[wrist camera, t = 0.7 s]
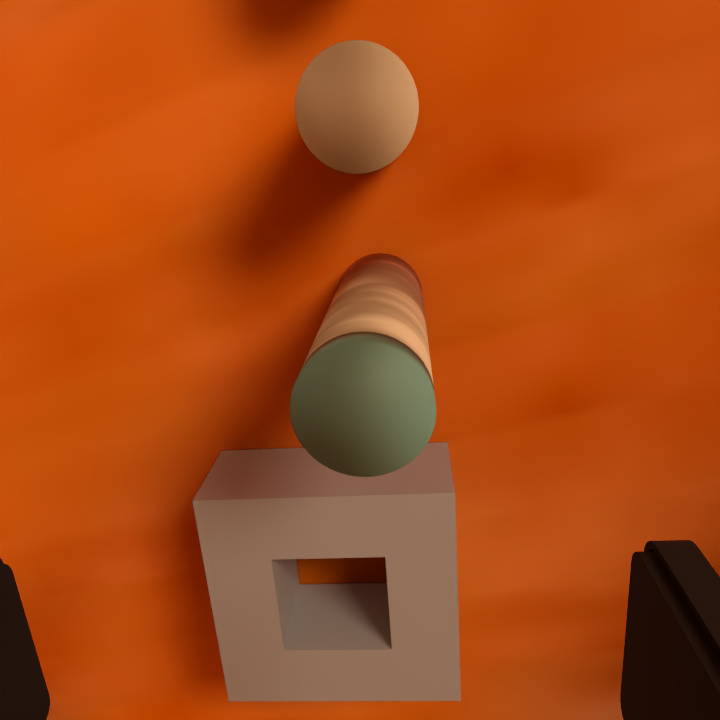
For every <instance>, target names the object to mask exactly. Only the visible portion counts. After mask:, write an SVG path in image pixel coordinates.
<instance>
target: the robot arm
mask: <svg viewBox="0 0 720 720" xmlns="http://www.w3.org/2000/svg"><path fill="white" fill-rule="evenodd" d="M49 707H50V698H49V693H48V690H47V686H46V683H45V679H44V676H43V673H42V669H41V666H40V663H39V659H38V656H37V653H36V649H35V646H34V642H33V639H32V636H31V632H30V629H29V626H28V622H27V619H26V615H25V612H24V609H23V605H22V602H21V599H20V595H19V592H18V588H17V585H16V582H15V578H14V575H13V572H12V570H11V568H10V567H9V566H8V565H7V564H3V561H2V559H0V720H46V719H47V716H48V712H49ZM621 710H622V715H623V719H624V720H720V577H719V576H718V574H717V573H716V572H715V570H714V569H713V567H712V566H711V565H710V563H709V562H708V561H707V559H706V558H705V556H704V555H703V554H702V552H701V551H700V550H699V548H698V547H697V546H696V545H695V544H694V543H693V542H692V541H689V540H675V541H649V542H647V543H646V545H645V548H644V552H635V553H634V554H633V556H632V561H631V573H630V585H629V597H628V610H627V622H626V634H625V646H624V659H623V671H622V683H621Z"/></svg>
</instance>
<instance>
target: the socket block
mask: <svg viewBox="0 0 720 720" xmlns="http://www.w3.org/2000/svg"><path fill="white" fill-rule="evenodd" d="M192 502H193V508H194V513H195V519H196V524H197V530H198V535H199V541H200V546H201V551H202V557H203V562H204V568H205V573H206V579H207V584H208V590H209V595H210V601H211V606H212V612H213V617H214V623H215V628H216V634H217V639H218V645H219V650H220V656H221V661H222V667H223V672H224V678H225V683H226V689H227V694H228V700H229V701H461V689H460V653H459V617H458V581H457V545H456V510H455V489H454V483H453V476H452V469H451V462H450V456H449V449H448V442H442V443H427V445H426V446H425V448H424V449H423V450H422V452H421V453H420V454H419V455H418V456H417V457H416V458H415V459H414V460H412V461H411V462H410V463H409V464H407V465H405V466H404V467H402V468H400V469H398V470H396V471H394V472H391V473H388V474H385V475H380V476H373V477H356V476H349V475H345V474H342V473H339V472H336V471H334V470H331V469H329V468H327V467H326V466H324V465H322V464H321V463H319V462H318V461H317V460H315V459H314V458H313V457H312V456H311V455H310V454H309V453H308V452H307V451H306V450H305V449H304V448H279V449H252V450H225V451H221V453H220V454H219V456H218V458H217V460H216V461H215V463H214V465H213V466H212V468H211V470H210V471H209V473H208V475H207V477H206V478H205V480H204V482H203V483H202V485H201V487H200V488H199V490H198V492H197V494H196V495H195V497H194V499H193V500H192ZM370 557H385V560H386V574H387V583H345V584H299V576H298V568H297V560H296V559H324V558H370Z"/></svg>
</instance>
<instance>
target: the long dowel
mask: <svg viewBox="0 0 720 720" xmlns="http://www.w3.org/2000/svg"><path fill="white" fill-rule="evenodd" d="M290 417H291V422H292V426H293V429H294V432H295V434H296V436H297V438H298V440H299V441H300V443H301V444H302V446H303V447H304V449H305V450H306V451H307V452H308V453H309V454H310V455H311V456H312V457H313V458H314V459H315V460H317V461H318V462H319V463H321V464H322V465H324V466H326V467H327V468H329V469H331V470H334V471H336V472H339V473H342V474H345V475H349V476H356V477H373V476H380V475H385V474H388V473H391V472H394V471H396V470H398V469H400V468H402V467H404V466H405V465H407V464H409V463H410V462H411V461H412V460H414V459H415V458H416V457H417V456H418V455H419V454H420V453H421V452H422V450H423V449H424V448H425V446H426V445H427V443H428V441H429V439H430V437H431V435H432V432H433V429H434V426H435V420H436V402H435V394H434V386H433V378H432V370H431V362H430V354H429V346H428V338H427V330H426V322H425V314H424V305H423V297H422V289H421V284H420V281H419V278H418V276H417V274H416V273H415V271H414V270H413V269H412V267H411V266H410V265H409V264H408V263H406V262H405V261H404V260H402V259H400V258H398V257H396V256H393V255H389V254H371V255H367V256H365V257H362V258H360V259H359V260H357V261H356V262H354V263H353V264H352V265H351V266H350V267H349V268H348V269H347V271H346V272H345V274H344V275H343V277H342V280H341V282H340V284H339V286H338V289H337V291H336V293H335V295H334V297H333V300H332V302H331V304H330V306H329V309H328V311H327V313H326V315H325V317H324V320H323V322H322V324H321V326H320V329H319V331H318V333H317V335H316V337H315V340H314V342H313V344H312V346H311V349H310V351H309V353H308V355H307V357H306V360H305V362H304V364H303V366H302V369H301V371H300V373H299V375H298V377H297V380H296V382H295V385H294V387H293V390H292V394H291V399H290Z"/></svg>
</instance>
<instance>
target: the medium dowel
mask: <svg viewBox="0 0 720 720" xmlns="http://www.w3.org/2000/svg"><path fill="white" fill-rule="evenodd" d="M418 113H419V102H418V94H417V89H416V86H415V83H414V80H413V78H412V76H411V74H410V72H409V70H408V69H407V67H406V66H405V64H404V63H403V62H402V61H401V60H400V59H399V57H398V56H396V55H395V54H394V53H393V52H392V51H390V50H388V49H387V48H385V47H383V46H381V45H379V44H377V43H373V42H369V41H363V40H350V41H344V42H341V43H337V44H335V45H333V46H331V47H328V48H327V49H325V50H324V51H322V52H321V53H320V54H318V55H317V56H316V57H315V58H314V59H313V60H312V61H311V63H310V64H309V65H308V67H307V68H306V70H305V71H304V73H303V75H302V77H301V79H300V82H299V84H298V87H297V92H296V97H295V117H296V123H297V126H298V130H299V132H300V135H301V137H302V139H303V141H304V143H305V144H306V146H307V147H308V149H309V150H310V151H311V153H312V154H313V155H314V156H315V157H316V158H317V159H319V160H320V161H321V162H322V163H324V164H325V165H327V166H329V167H330V168H333V169H335V170H338V171H341V172H345V173H352V174H362V173H369V172H372V171H376V170H378V169H381V168H383V167H385V166H386V165H388V164H390V163H391V162H392V161H394V160H395V159H396V158H397V157H398V156H399V155H400V154H401V153H402V152H403V151H404V149H405V148H406V147H407V145H408V144H409V142H410V140H411V138H412V136H413V133H414V131H415V128H416V124H417V120H418Z"/></svg>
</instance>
